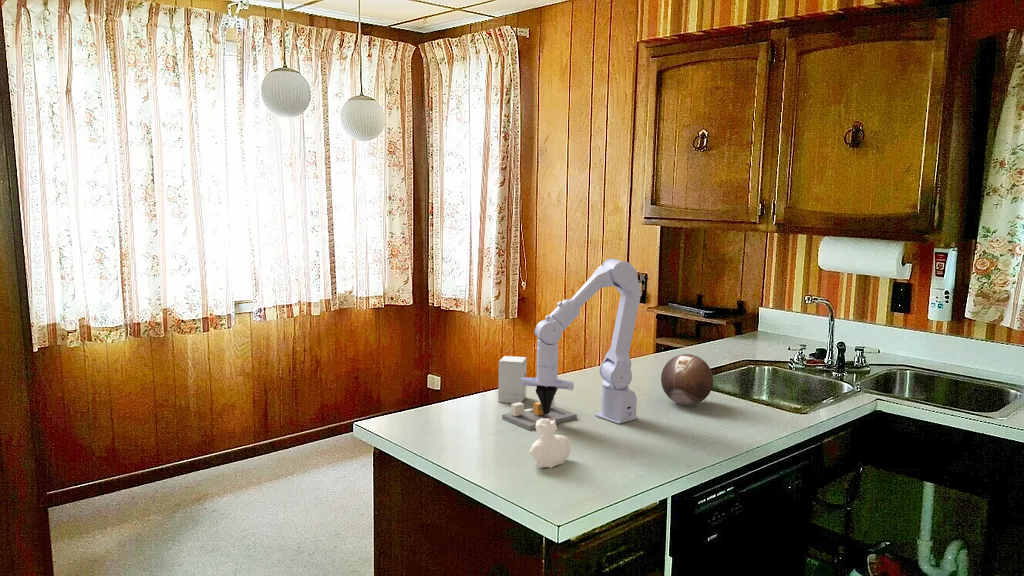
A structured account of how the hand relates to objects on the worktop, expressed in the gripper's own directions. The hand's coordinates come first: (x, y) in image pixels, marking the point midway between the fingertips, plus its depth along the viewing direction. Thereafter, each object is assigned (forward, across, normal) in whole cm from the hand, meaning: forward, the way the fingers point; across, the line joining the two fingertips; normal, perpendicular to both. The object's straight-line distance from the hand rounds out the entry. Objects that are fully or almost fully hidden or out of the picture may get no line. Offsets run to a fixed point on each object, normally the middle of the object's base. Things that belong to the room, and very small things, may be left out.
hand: (546, 413), depth 199 cm
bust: (+3, -8, +29) cm, 30 cm away
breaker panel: (+2, +2, -2) cm, 4 cm away
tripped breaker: (+1, +2, -2) cm, 3 cm away
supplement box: (+3, +15, -17) cm, 22 cm away
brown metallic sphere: (+2, -36, -29) cm, 46 cm away
